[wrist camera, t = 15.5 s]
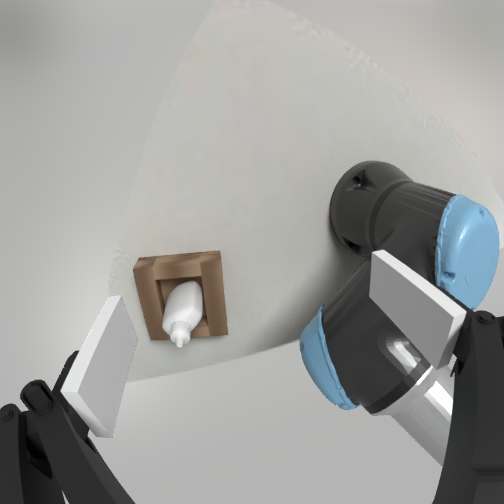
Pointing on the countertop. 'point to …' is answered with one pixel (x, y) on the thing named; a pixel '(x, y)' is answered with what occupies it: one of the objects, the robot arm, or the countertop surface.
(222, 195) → the countertop surface
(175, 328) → the eye dropper bottle
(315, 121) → the countertop surface
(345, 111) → the countertop surface
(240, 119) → the countertop surface
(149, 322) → the walnut bottle stand
